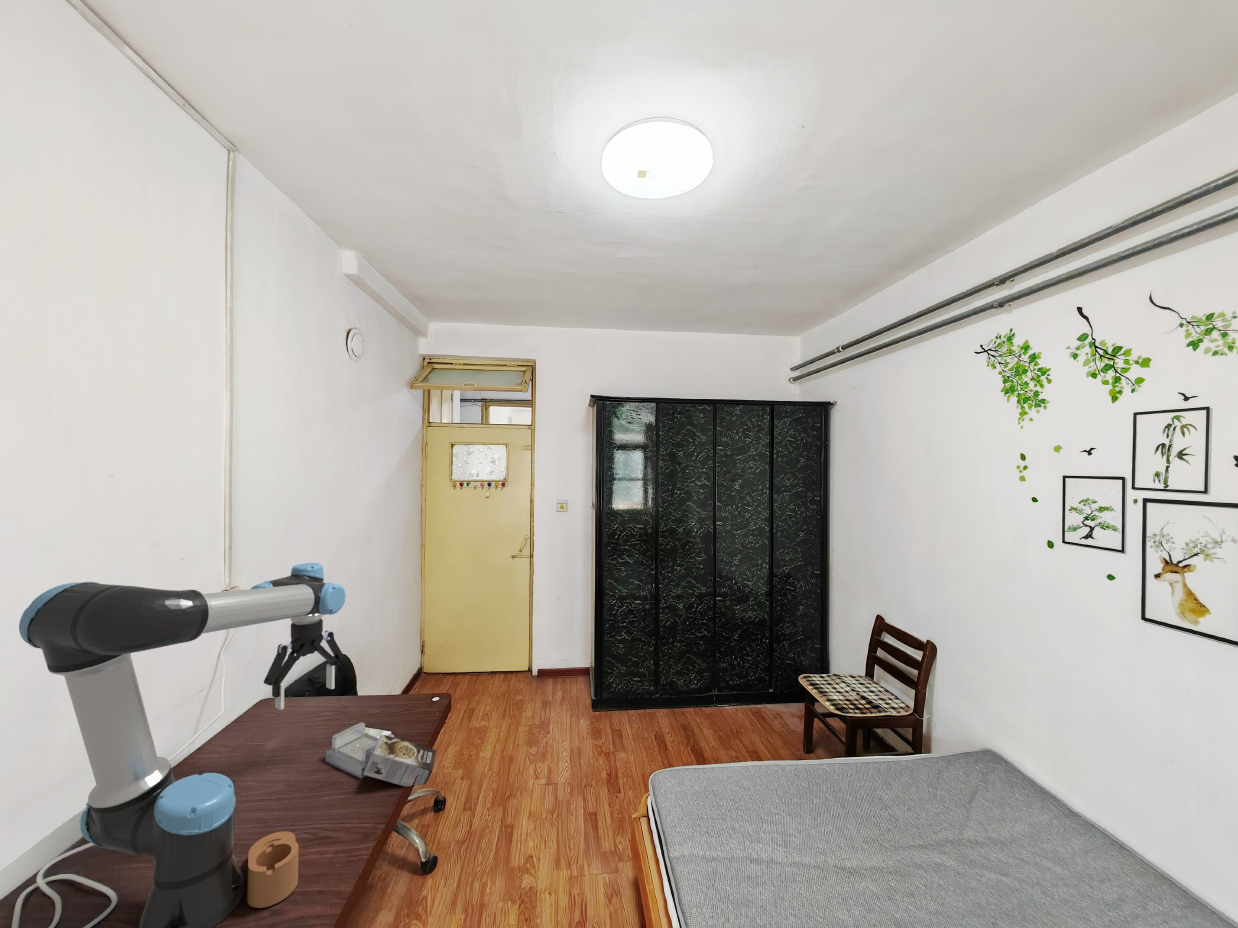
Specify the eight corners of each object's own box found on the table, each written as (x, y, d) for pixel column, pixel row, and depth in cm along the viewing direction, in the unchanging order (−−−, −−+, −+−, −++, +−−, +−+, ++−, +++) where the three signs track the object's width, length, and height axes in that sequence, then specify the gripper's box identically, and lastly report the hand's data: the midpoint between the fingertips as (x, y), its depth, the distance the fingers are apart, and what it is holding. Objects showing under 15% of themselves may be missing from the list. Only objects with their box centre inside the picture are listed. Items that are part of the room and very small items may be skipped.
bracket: (299, 893, 99) (299, 858, 99) (246, 915, 94) (247, 878, 94) (293, 838, 114) (294, 807, 114) (248, 854, 109) (249, 822, 109)
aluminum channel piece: (361, 779, 135) (361, 753, 135) (325, 762, 142) (325, 737, 142) (399, 757, 145) (399, 733, 145) (364, 742, 153) (364, 719, 153)
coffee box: (381, 732, 138) (437, 748, 142) (370, 754, 138) (426, 769, 142) (373, 752, 129) (433, 769, 133) (362, 775, 129) (422, 792, 133)
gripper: (264, 636, 124) (263, 721, 124) (358, 610, 146) (357, 683, 146) (248, 631, 128) (247, 713, 128) (342, 607, 150) (341, 677, 150)
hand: (306, 697), depth 137 cm, fingers open, 13 cm apart
